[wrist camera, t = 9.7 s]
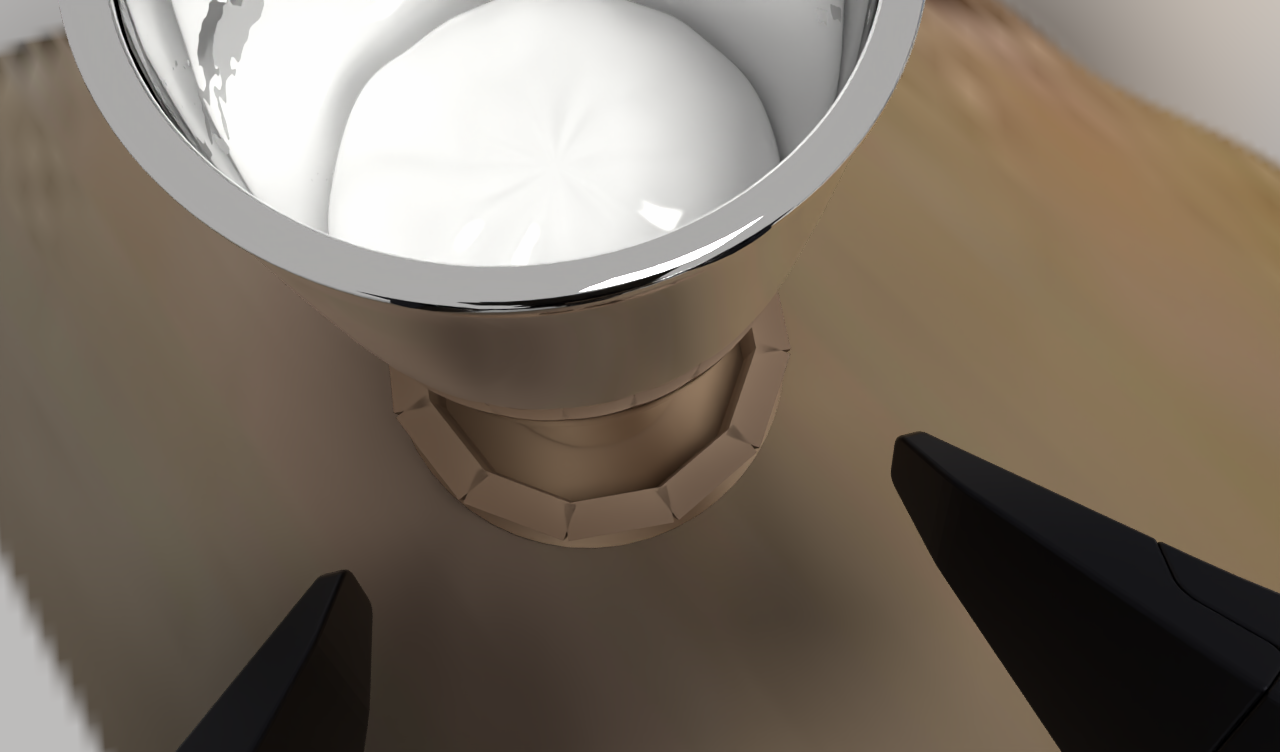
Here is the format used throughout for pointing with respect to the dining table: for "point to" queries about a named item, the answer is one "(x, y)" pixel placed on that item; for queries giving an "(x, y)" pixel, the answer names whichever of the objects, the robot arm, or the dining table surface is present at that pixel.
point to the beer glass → (508, 171)
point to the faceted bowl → (607, 453)
